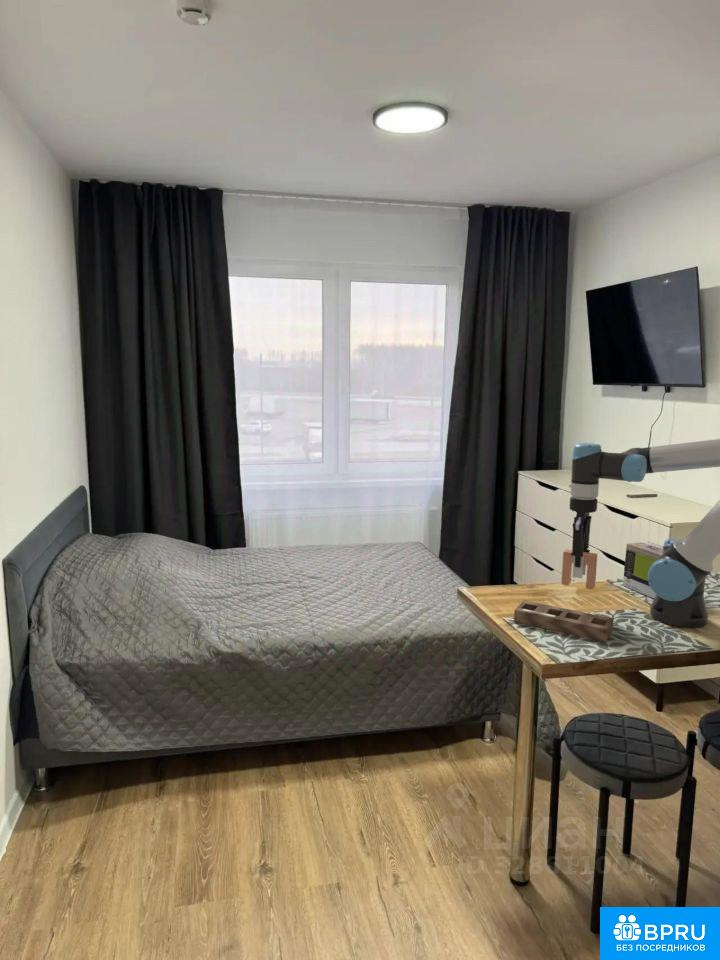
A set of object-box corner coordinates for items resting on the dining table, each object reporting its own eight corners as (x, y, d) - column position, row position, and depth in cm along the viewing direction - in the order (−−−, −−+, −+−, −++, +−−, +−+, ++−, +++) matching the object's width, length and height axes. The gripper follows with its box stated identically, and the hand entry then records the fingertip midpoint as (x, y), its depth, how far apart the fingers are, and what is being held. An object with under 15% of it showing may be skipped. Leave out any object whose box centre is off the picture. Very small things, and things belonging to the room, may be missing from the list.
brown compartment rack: (612, 630, 182) (613, 617, 182) (606, 642, 175) (607, 628, 174) (523, 611, 195) (524, 599, 194) (513, 621, 187) (514, 609, 186)
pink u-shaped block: (595, 586, 194) (597, 553, 192) (592, 589, 191) (595, 556, 190) (563, 581, 198) (565, 549, 197) (561, 584, 196) (563, 551, 194)
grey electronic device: (680, 597, 209) (686, 552, 207) (656, 601, 206) (661, 555, 203) (644, 582, 223) (649, 540, 220) (621, 585, 219) (625, 542, 217)
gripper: (576, 491, 199) (572, 566, 203) (563, 500, 185) (558, 580, 189) (603, 493, 195) (597, 570, 199) (591, 503, 182) (586, 585, 186)
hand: (578, 575), depth 194 cm, fingers closed on pink u-shaped block, 3 cm apart
